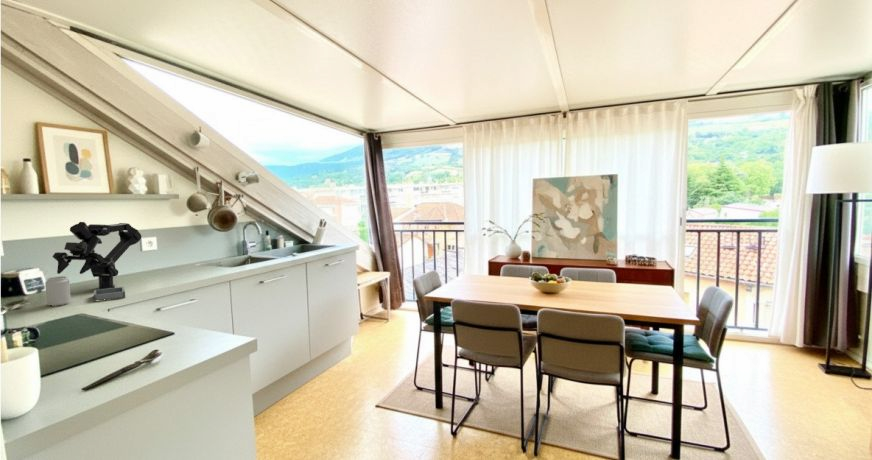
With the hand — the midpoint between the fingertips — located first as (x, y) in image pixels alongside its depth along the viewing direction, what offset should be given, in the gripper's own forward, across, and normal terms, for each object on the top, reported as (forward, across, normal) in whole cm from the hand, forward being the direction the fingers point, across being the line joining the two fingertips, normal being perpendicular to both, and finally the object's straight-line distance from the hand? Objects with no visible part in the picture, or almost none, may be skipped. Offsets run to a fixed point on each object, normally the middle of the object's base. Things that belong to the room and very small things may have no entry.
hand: (69, 273), depth 173 cm
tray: (+5, +13, +12) cm, 18 cm away
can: (+13, 0, +4) cm, 14 cm away
